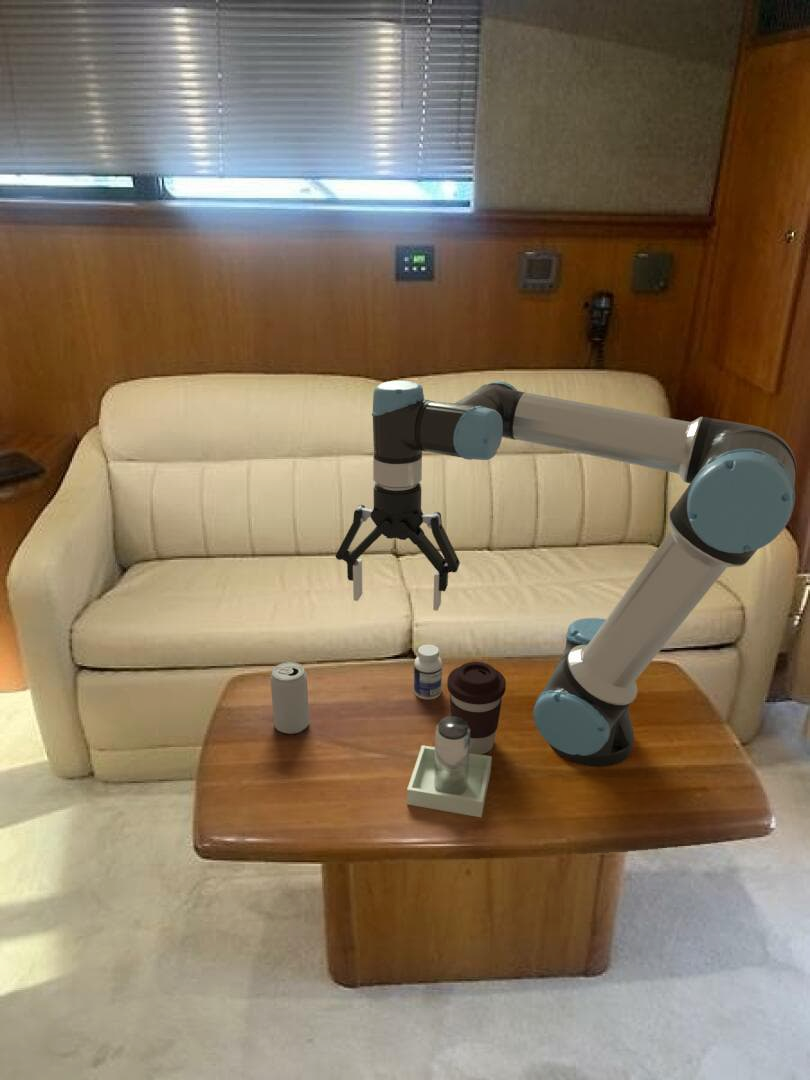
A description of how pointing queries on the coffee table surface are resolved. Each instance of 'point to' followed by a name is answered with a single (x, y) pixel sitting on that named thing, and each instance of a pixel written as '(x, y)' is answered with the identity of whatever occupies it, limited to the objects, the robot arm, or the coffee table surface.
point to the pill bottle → (428, 672)
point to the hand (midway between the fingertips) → (397, 601)
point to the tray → (428, 797)
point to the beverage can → (290, 697)
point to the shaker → (451, 755)
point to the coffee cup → (477, 701)
